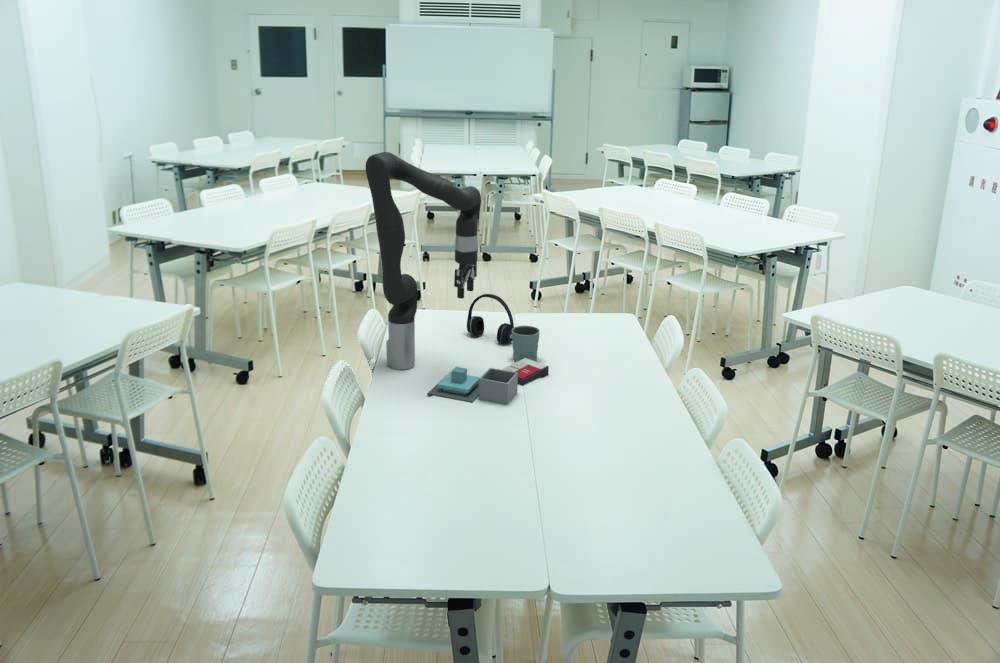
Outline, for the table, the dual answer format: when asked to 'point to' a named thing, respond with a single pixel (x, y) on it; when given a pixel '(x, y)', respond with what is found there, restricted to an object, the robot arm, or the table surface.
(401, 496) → the table surface
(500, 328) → the headphones
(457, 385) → the lid
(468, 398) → the mat
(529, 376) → the calculator
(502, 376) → the box
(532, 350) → the grey cup
